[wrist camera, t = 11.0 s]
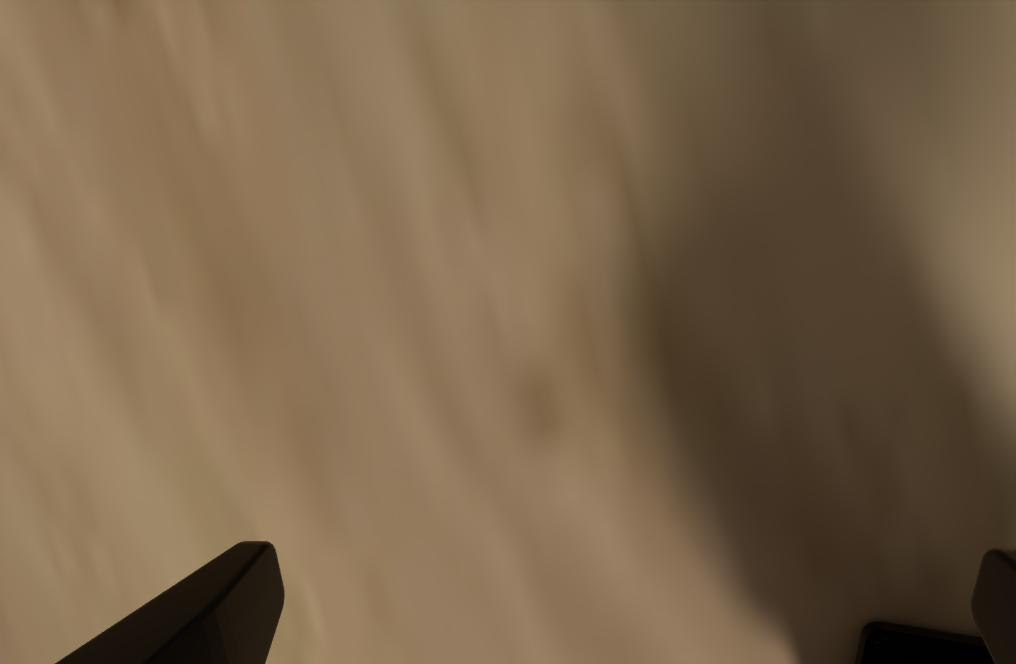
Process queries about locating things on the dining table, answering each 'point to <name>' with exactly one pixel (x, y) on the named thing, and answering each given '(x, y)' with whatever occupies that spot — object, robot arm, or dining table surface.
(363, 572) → the dining table surface
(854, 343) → the dining table surface
